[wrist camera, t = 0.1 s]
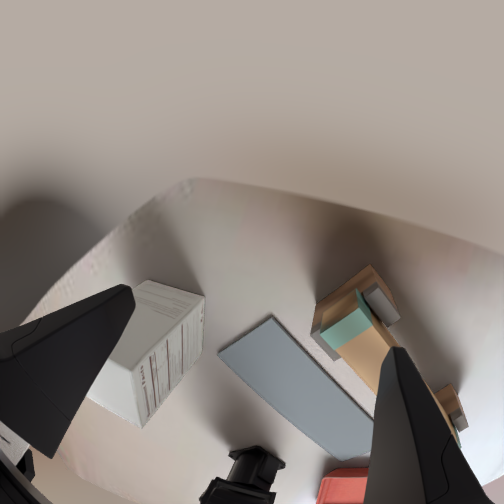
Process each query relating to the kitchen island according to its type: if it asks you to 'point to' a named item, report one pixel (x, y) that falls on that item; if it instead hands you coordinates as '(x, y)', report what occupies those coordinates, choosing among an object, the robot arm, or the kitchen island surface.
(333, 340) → the rail
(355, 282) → the post
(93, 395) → the supplement box
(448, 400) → the post
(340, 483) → the plant saucer
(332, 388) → the mat
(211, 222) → the kitchen island surface
